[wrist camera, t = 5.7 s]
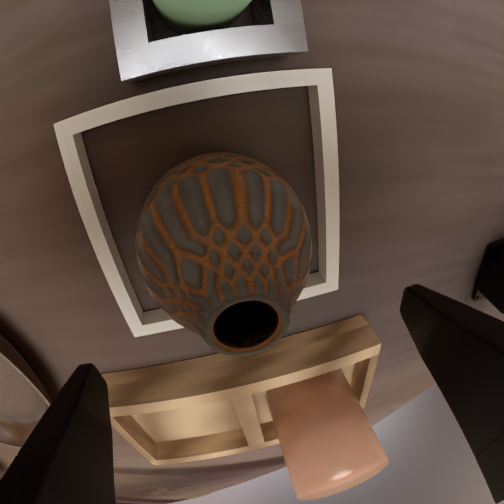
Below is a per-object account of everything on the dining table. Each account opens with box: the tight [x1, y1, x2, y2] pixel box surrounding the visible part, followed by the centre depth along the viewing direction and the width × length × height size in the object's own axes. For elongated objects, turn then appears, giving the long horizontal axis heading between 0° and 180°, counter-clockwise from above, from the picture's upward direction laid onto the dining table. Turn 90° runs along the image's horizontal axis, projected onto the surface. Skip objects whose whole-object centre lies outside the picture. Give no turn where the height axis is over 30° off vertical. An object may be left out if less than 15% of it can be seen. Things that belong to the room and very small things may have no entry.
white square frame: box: [53, 68, 339, 337], centre depth 15 cm, size 13×13×1 cm
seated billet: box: [266, 368, 389, 500], centre depth 20 cm, size 7×7×9 cm
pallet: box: [101, 314, 382, 465], centre depth 23 cm, size 20×11×3 cm, turn 97°
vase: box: [136, 152, 312, 357], centre depth 12 cm, size 7×7×9 cm
